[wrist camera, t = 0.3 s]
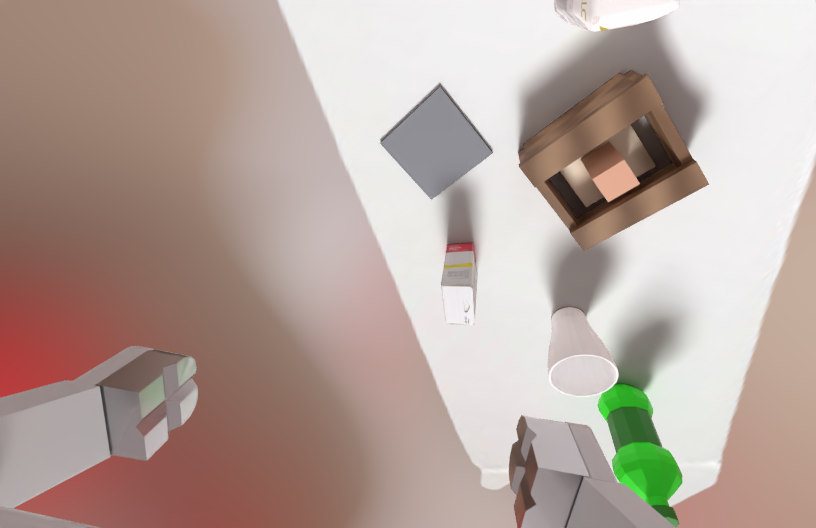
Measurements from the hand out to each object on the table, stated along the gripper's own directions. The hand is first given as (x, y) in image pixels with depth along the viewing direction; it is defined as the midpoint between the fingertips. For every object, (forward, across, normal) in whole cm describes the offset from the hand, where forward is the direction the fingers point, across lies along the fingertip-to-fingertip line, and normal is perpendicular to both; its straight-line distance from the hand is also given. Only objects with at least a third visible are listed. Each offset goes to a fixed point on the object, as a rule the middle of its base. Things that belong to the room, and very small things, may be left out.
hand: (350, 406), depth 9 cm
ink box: (+59, -6, +13) cm, 60 cm away
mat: (+52, +1, -6) cm, 53 cm away
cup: (+61, -28, +22) cm, 70 cm away
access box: (+51, -22, -8) cm, 56 cm away
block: (+49, -22, -7) cm, 55 cm away
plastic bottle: (+66, -44, +39) cm, 89 cm away
